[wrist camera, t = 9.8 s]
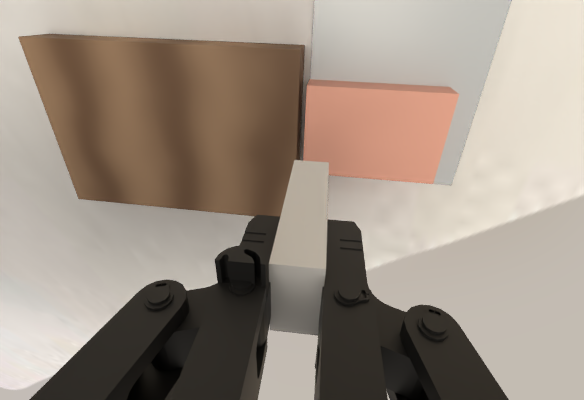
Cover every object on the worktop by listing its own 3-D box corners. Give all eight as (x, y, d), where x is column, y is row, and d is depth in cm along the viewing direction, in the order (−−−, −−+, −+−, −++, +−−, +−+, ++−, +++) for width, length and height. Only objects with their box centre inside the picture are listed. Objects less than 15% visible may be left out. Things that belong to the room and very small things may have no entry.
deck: (98, 184, 29) (78, 198, 27) (48, 33, 22) (18, 36, 20) (297, 203, 27) (294, 220, 25) (304, 45, 21) (300, 49, 19)
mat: (305, 171, 25) (305, 173, 25) (315, -11, 19) (315, -11, 19) (450, 183, 24) (451, 185, 24) (511, -5, 18) (513, -6, 18)
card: (305, 161, 25) (302, 173, 23) (309, 79, 21) (306, 85, 20) (426, 171, 24) (433, 183, 22) (449, 86, 21) (459, 94, 19)
